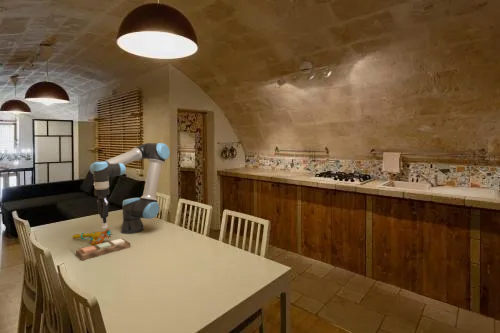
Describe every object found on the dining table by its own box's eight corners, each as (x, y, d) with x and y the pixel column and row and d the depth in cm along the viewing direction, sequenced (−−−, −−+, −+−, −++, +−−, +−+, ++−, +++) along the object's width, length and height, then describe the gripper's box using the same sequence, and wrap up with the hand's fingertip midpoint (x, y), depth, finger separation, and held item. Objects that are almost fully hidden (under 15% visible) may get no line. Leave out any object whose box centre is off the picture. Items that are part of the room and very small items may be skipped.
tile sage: (107, 245, 169) (107, 242, 169) (111, 248, 165) (111, 244, 165) (96, 248, 165) (96, 244, 165) (100, 251, 161) (100, 247, 160)
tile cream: (120, 242, 175) (120, 238, 175) (125, 244, 171) (124, 241, 171) (110, 244, 171) (110, 241, 170) (114, 247, 166) (114, 243, 166)
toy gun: (95, 239, 166) (110, 225, 179) (57, 243, 171) (74, 229, 185) (101, 251, 169) (115, 235, 182) (63, 254, 174) (80, 239, 188)
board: (122, 242, 178) (122, 238, 178) (130, 247, 170) (130, 243, 170) (75, 254, 160) (75, 250, 159) (82, 260, 151) (82, 255, 151)
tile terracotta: (92, 249, 163) (92, 245, 163) (96, 252, 159) (96, 248, 159) (81, 252, 159) (81, 248, 159) (84, 255, 155) (84, 251, 155)
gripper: (90, 188, 164) (93, 227, 167) (99, 190, 155) (101, 232, 158) (104, 186, 170) (106, 224, 172) (113, 188, 161) (115, 228, 163)
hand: (104, 228), depth 165 cm, fingers closed
